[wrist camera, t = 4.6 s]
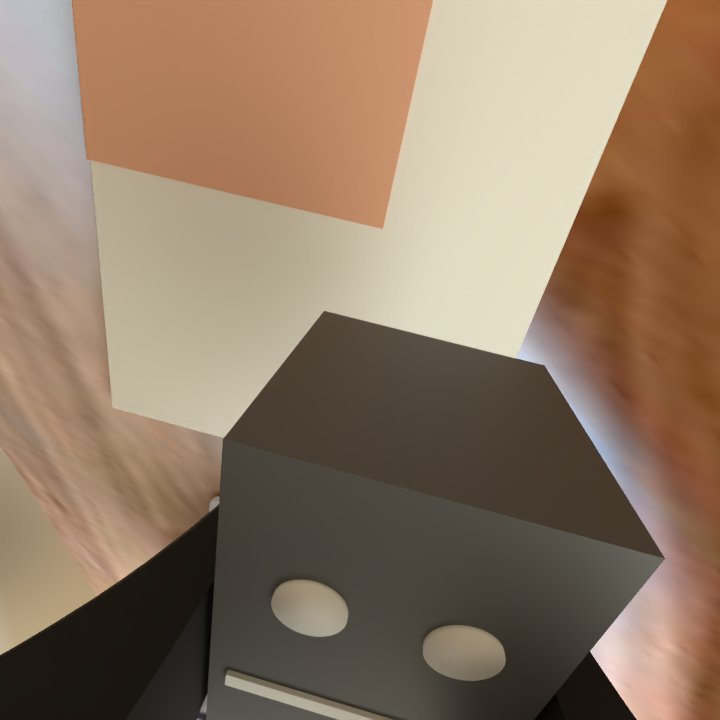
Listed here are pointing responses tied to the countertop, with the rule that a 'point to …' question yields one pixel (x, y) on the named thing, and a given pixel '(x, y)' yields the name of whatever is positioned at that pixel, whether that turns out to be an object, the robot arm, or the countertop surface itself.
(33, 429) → the countertop surface
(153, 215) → the cream mat
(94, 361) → the countertop surface
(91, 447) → the countertop surface
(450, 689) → the domino block
